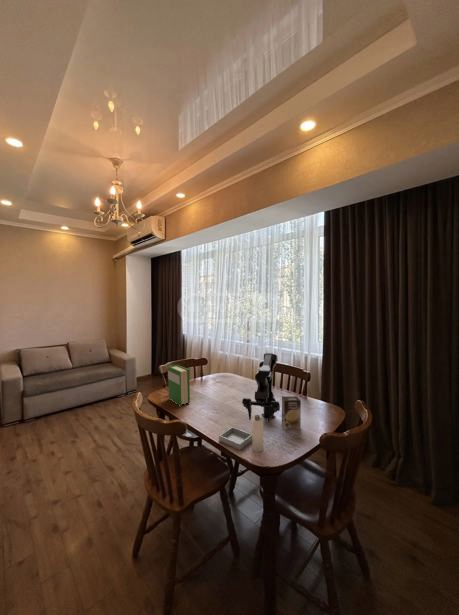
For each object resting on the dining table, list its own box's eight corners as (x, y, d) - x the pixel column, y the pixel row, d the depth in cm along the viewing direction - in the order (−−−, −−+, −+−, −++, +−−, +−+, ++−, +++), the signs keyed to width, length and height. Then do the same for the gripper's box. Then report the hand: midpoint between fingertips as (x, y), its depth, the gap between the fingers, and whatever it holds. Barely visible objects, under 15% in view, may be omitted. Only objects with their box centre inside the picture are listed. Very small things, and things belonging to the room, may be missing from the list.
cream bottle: (250, 446, 121) (249, 414, 120) (260, 444, 123) (259, 412, 122) (255, 453, 116) (254, 419, 115) (265, 450, 118) (265, 417, 117)
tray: (232, 432, 134) (232, 426, 134) (252, 440, 126) (252, 434, 126) (219, 441, 125) (218, 435, 125) (240, 450, 117) (239, 444, 117)
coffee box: (284, 430, 135) (284, 400, 135) (281, 424, 142) (281, 396, 141) (301, 429, 136) (300, 400, 135) (297, 423, 142) (297, 395, 141)
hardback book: (189, 404, 172) (189, 369, 171) (180, 407, 167) (179, 371, 167) (178, 396, 186) (177, 364, 185) (168, 399, 181) (167, 366, 180)
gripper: (242, 382, 130) (237, 412, 120) (279, 385, 125) (276, 417, 114) (246, 392, 138) (241, 421, 128) (280, 395, 132) (278, 426, 122)
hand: (259, 421), depth 123 cm, fingers open, 9 cm apart
